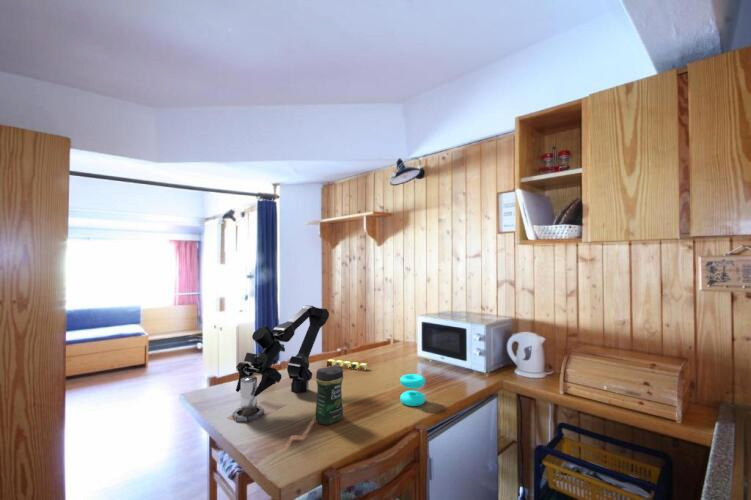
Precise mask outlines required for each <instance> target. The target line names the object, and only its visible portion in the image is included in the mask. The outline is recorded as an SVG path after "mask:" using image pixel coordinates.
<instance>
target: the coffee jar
mask: <svg viewBox="0 0 751 500" xmlns="http://www.w3.org/2000/svg"><path fill="white" fill-rule="evenodd" d="M343 370H344V368H343V367H340V366H337V365H333V366H330V367H329V366H327V367H323V368H319V369H317V370H316V374H315V376H316V377H315V381H316V384H317V392H316V393H317V394H316V404H315V405H316V406H315V412H314V413H315V414H314V415H315V417H314V419H315V421H316V422H317V423H319V424H321V425H327V426H329V425H331V424H334V423H336V422H338V421H340V420H341V419H343V417H344V408H343V397H342V395H343V393H342V384H343V381H344V371H343Z"/></svg>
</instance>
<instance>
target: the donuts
mask: <svg viewBox="0 0 751 500" xmlns="http://www.w3.org/2000/svg"><path fill="white" fill-rule="evenodd" d="M399 383H400V384H401V385H402V386H403V387H404V388H406V389H407V388H408V389H419V388H422V387H423V386H424V385H425V384H426V379H425V378H424V376H422V375H420V374H417V373H407V374H403V375H402V376H401V377H400V379H399ZM399 397H400V402H401V403H403V405H406V406H410V407H417V406H418V407H419V406H421V405H423V404H424V403H425V402H426V396H425V395H424V394H423V393H422V392H420V391H418V390H406V391H404V392H402V394H400V396H399Z"/></svg>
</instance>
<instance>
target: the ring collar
mask: <svg viewBox="0 0 751 500" xmlns="http://www.w3.org/2000/svg"><path fill="white" fill-rule="evenodd" d="M257 411H258V413H257V414H253V415H250V416H239V414H240V413H241V407H238V408H236V410H234V411H233V412H232V414H231V415H232V418H233V419H234V420H235V421H234V420H233V421H234V422H238V423H241V422H249V421H253V420H256V419H258V420H260V419H261V418H260V417H261V416H262V415H263V414H264V409H263V408H262V407H261V406H257ZM259 418H260V419H259ZM256 421H257V420H256Z"/></svg>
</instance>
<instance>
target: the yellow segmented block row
mask: <svg viewBox="0 0 751 500" xmlns="http://www.w3.org/2000/svg"><path fill="white" fill-rule="evenodd" d="M333 365H337V366H340V367H341V366H343V367H344V368H343V367H342V368H343V369H345V368H349V367H351V368H353V369H357V368H359V369H360V370H366V369H367V370H368V363H364V362H361V363H360V362H356V361H353V362H351V361H349V360H348V361H344V360H339V359H337V360H335V359H330V358H329V359H328V360H326V366H327V367H329V366H333ZM351 368H349V369H351ZM353 369H352V370H353ZM359 369H357V370H359ZM360 370H359V371H360ZM367 370H366V371H367Z"/></svg>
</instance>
